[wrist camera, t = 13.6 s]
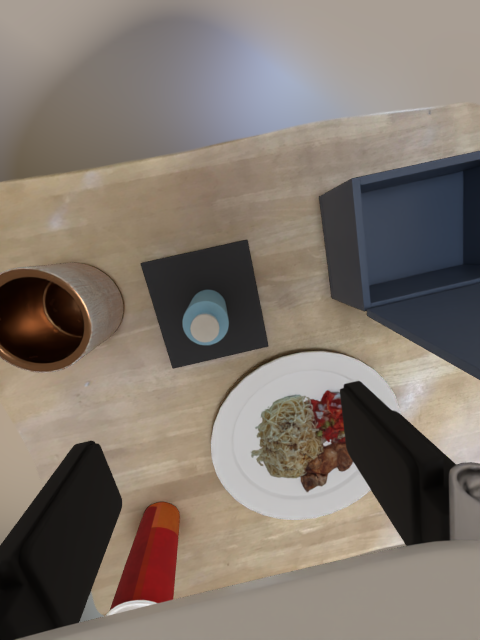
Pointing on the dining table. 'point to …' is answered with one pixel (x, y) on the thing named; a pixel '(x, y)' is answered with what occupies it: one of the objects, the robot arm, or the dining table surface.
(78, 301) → the planter
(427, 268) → the chest
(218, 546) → the dining table surface
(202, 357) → the mat
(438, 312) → the lid
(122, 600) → the coffee cup
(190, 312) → the bottle
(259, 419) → the plated food
